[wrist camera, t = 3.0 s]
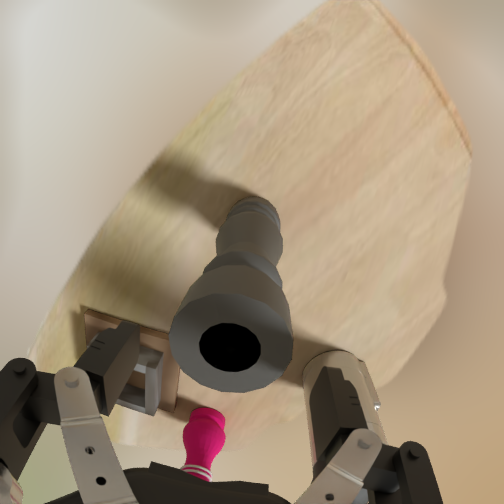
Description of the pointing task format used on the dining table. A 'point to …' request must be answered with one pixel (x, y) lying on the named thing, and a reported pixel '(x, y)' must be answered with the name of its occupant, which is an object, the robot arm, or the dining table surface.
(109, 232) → the dining table surface
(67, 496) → the robot arm
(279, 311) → the candle holder
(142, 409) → the socket board
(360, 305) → the dining table surface
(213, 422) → the pepper mill
